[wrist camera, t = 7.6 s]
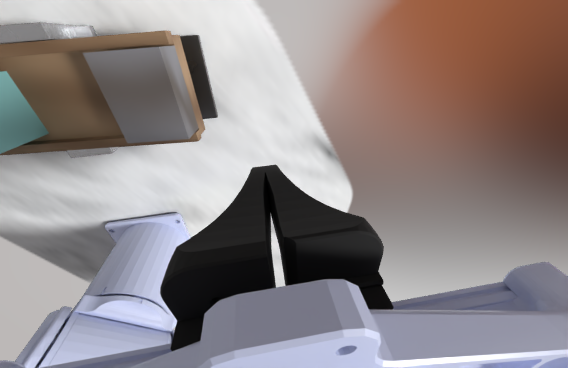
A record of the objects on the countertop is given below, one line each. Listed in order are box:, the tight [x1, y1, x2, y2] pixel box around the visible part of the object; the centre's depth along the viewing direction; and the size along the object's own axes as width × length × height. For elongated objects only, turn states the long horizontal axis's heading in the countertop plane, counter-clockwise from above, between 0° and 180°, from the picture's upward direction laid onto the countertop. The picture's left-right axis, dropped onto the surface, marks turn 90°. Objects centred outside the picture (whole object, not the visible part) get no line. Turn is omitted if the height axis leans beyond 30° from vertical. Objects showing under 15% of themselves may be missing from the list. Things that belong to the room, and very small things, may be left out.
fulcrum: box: [0, 23, 218, 158], centre depth 16 cm, size 8×19×3 cm, turn 94°
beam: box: [0, 31, 205, 155], centre depth 14 cm, size 6×18×4 cm, turn 94°
